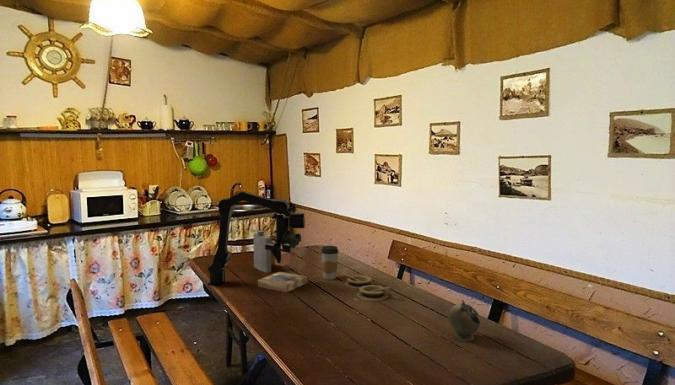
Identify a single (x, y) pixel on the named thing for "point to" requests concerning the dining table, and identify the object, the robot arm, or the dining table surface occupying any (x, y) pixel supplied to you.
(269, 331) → the dining table surface
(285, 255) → the terracotta cube
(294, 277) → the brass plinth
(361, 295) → the tableware set
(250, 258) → the dining table surface
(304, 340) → the dining table surface
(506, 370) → the dining table surface
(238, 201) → the robot arm
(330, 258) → the coffee cup
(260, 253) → the hip flask
